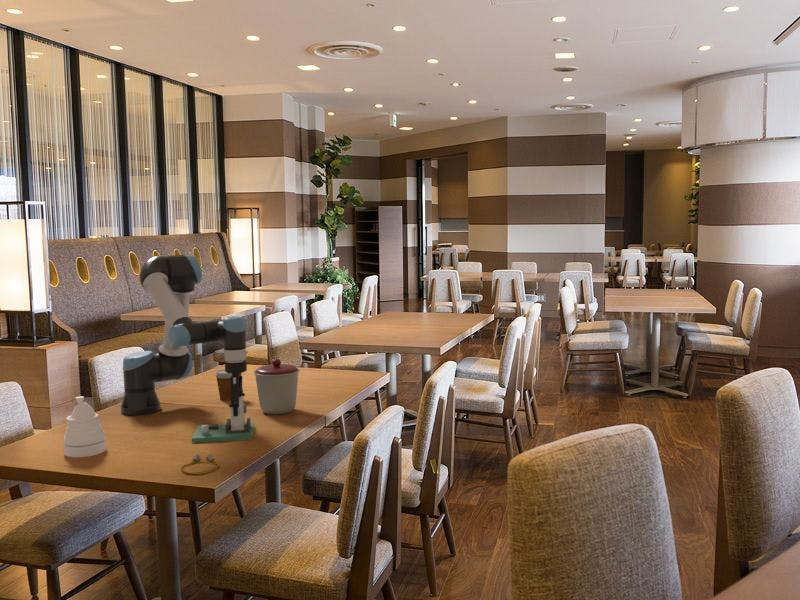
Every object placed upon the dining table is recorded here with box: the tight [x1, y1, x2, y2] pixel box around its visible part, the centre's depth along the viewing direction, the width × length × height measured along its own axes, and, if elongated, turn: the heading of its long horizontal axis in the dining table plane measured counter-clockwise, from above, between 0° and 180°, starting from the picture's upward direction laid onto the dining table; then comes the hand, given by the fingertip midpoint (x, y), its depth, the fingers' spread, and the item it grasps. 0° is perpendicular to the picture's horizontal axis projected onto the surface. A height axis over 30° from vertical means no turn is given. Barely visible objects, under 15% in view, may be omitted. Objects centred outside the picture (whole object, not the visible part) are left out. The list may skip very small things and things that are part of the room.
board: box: [191, 417, 255, 443], centre depth 261 cm, size 20×16×4 cm
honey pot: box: [63, 395, 107, 458], centre depth 244 cm, size 13×13×18 cm
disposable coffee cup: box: [214, 369, 232, 402], centre depth 314 cm, size 10×10×12 cm
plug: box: [229, 402, 247, 431], centre depth 261 cm, size 5×4×9 cm
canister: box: [253, 358, 301, 415], centre depth 291 cm, size 18×18×21 cm
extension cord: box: [180, 453, 220, 476], centre depth 228 cm, size 12×16×2 cm
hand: (238, 419), depth 262 cm, fingers open, 13 cm apart
